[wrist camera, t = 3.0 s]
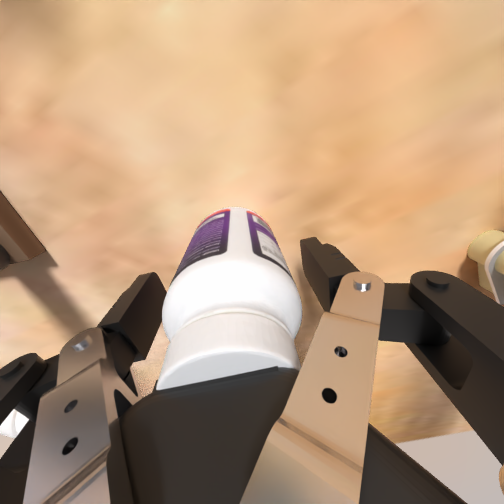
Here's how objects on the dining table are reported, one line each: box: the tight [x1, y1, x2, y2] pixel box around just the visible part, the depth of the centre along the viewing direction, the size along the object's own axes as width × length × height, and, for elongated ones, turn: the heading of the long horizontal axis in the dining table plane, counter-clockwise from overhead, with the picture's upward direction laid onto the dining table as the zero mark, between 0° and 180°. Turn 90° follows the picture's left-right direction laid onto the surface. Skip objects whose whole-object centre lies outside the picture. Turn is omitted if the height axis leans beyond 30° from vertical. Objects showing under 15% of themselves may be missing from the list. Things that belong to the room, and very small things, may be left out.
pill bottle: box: [156, 207, 302, 390], centre depth 10 cm, size 5×5×10 cm
